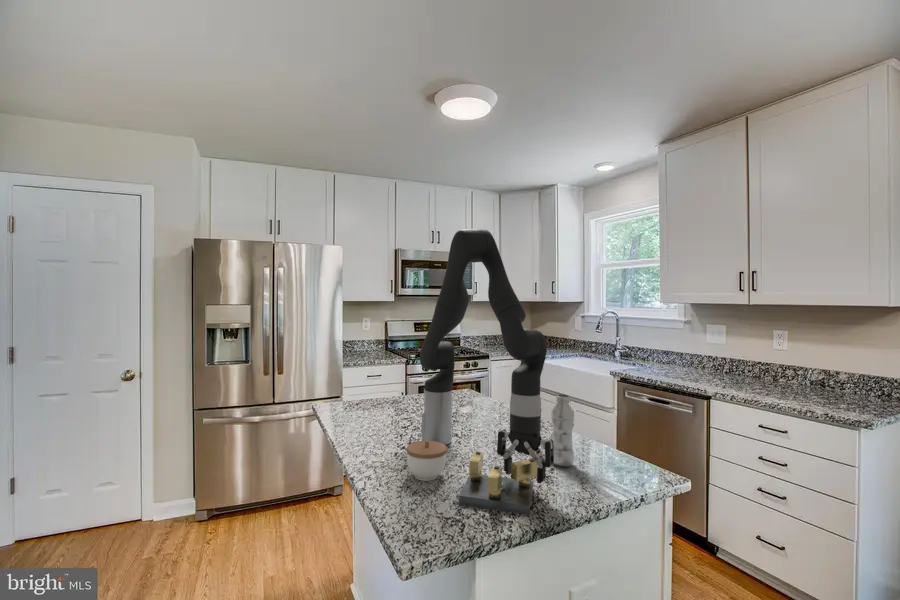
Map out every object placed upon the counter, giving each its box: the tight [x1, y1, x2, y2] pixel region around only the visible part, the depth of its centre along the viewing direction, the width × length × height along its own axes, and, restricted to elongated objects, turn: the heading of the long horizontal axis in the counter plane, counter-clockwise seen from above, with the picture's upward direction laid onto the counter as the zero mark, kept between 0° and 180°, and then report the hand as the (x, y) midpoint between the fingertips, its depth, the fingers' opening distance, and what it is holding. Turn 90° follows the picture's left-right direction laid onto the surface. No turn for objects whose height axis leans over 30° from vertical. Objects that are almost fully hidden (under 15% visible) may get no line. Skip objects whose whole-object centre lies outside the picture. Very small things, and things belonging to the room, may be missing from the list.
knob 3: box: [510, 458, 538, 487], centre depth 103 cm, size 6×3×6 cm, turn 119°
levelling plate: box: [458, 474, 534, 515], centre depth 101 cm, size 16×13×3 cm
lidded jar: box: [406, 440, 448, 482], centre depth 112 cm, size 11×11×9 cm
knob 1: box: [468, 451, 484, 481], centre depth 106 cm, size 6×3×6 cm, turn 165°
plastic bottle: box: [550, 393, 575, 468], centre depth 121 cm, size 6×7×20 cm
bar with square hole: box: [488, 465, 503, 498], centre depth 97 cm, size 6×3×6 cm, turn 165°
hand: (524, 477), depth 103 cm, fingers open, 8 cm apart
